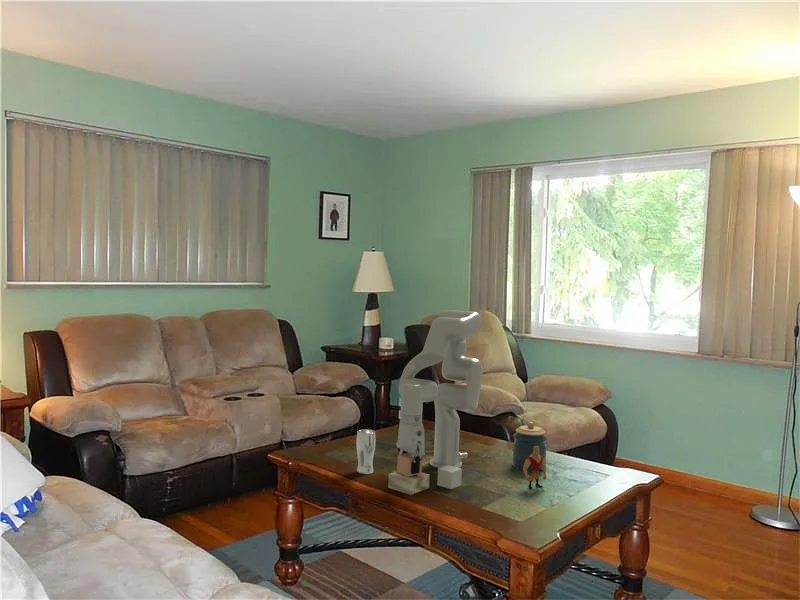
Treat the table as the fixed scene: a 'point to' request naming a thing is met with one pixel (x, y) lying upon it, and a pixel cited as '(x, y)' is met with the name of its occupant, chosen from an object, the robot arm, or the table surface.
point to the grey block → (449, 477)
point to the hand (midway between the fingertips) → (409, 470)
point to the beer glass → (365, 450)
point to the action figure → (534, 466)
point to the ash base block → (408, 482)
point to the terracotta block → (406, 464)
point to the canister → (528, 444)
